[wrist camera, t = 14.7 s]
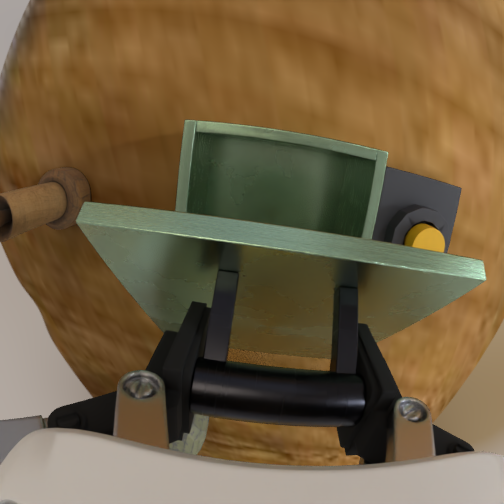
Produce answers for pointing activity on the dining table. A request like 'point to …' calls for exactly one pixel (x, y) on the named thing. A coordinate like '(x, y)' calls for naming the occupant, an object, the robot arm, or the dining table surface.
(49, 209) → the mortar and pestle
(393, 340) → the dining table surface
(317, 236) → the lid
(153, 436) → the robot arm
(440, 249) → the button
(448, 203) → the control box
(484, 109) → the dining table surface
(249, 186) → the green box
